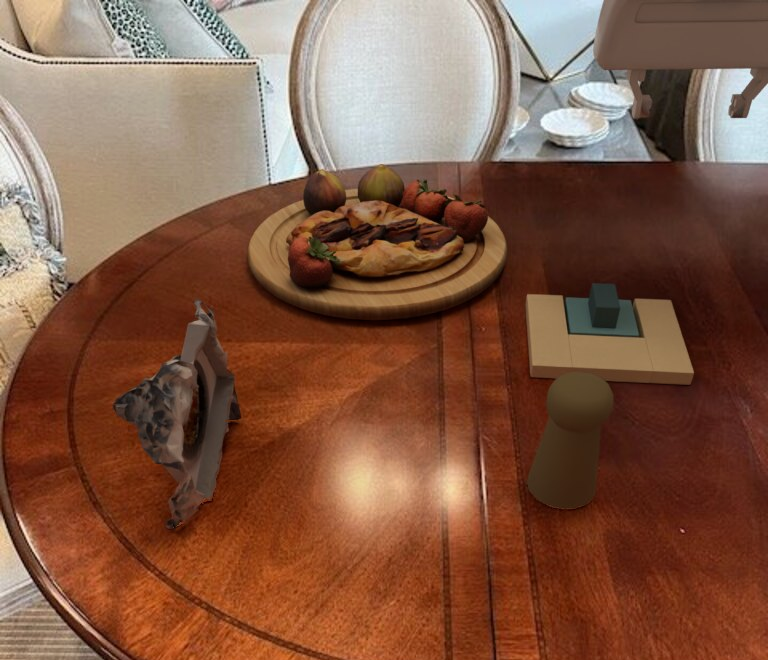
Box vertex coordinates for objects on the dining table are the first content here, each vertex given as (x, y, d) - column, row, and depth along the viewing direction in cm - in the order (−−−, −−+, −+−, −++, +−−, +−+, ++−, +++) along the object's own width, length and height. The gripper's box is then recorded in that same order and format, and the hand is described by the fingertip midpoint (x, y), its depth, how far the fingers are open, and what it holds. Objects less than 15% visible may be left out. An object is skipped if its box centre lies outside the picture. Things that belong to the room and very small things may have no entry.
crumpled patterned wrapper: (199, 418, 75) (173, 297, 66) (243, 421, 75) (222, 299, 66) (150, 531, 65) (110, 406, 56) (201, 535, 65) (169, 409, 55)
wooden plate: (352, 361, 82) (349, 289, 76) (201, 249, 100) (189, 184, 94) (560, 265, 96) (571, 199, 90) (395, 182, 114) (395, 122, 108)
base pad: (667, 311, 89) (671, 299, 88) (690, 385, 79) (694, 372, 78) (525, 305, 90) (527, 293, 89) (530, 377, 80) (532, 365, 79)
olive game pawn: (518, 499, 67) (535, 396, 60) (536, 456, 71) (554, 354, 64) (588, 518, 66) (615, 414, 58) (602, 472, 70) (629, 370, 62)
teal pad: (628, 311, 89) (635, 279, 86) (636, 347, 84) (645, 314, 81) (563, 308, 89) (569, 276, 86) (568, 344, 84) (574, 311, 81)
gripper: (838, -63, 70) (787, 105, 79) (604, -57, 71) (582, 106, 81) (864, -49, 65) (806, 127, 75) (614, -44, 67) (589, 128, 76)
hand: (688, 116), depth 78 cm, fingers open, 8 cm apart
